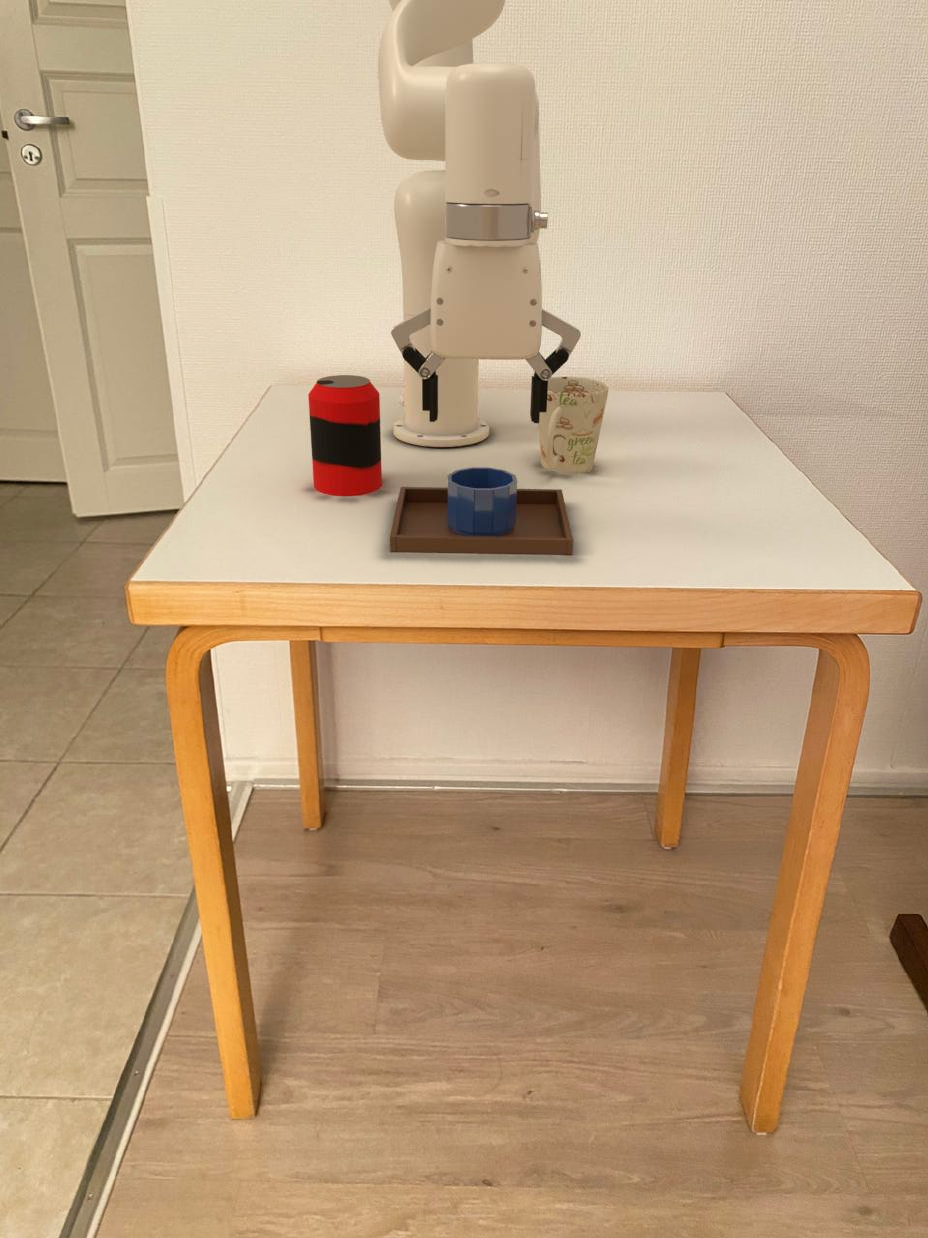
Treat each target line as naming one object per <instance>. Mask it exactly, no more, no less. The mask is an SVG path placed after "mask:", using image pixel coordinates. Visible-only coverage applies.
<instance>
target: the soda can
mask: <svg viewBox="0 0 928 1238" xmlns="http://www.w3.org/2000/svg"><path fill="white" fill-rule="evenodd" d="M307 395H308V412H309V426H310V427H309V429H310V446H311V447H310V448H311V462H312V463H311V465H312V479H313V480H312V481H313V488H314V489H315V491H317V492H318V493H321V494H323V495H327V496H334V497H359V496H365V495H369V494H372V493H375V492H376V491H379V490H380V489H381V488H382V486H383V477H382V476H383V475H382V473H383V472H382V471H383V469H382V440H381V439H382V438H381V437H382V436H381V402H380V401H381V397H380V392H379V391H378V389H377V388H376V386H374V385H373V383H372V382H371V380H370V378H367V377H365V376H361V375H353V374H339V375H337V374H336V375H329V376H324V377H320V378H318V379H317V380H316V382H315V384H314V385H313V387H312V388H311V390H310V391H309V392H308V394H307Z"/></svg>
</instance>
